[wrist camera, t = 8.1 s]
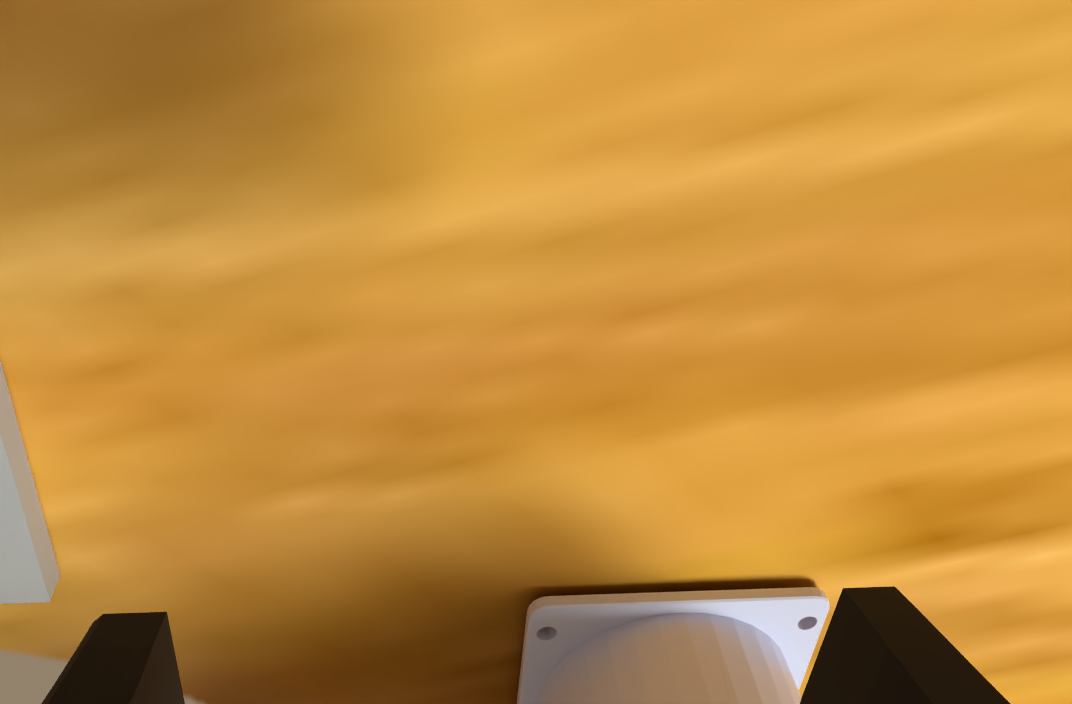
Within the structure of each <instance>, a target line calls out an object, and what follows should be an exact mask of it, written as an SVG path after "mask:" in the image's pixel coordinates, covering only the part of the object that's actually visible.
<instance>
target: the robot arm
mask: <svg viewBox="0 0 1072 704" xmlns="http://www.w3.org/2000/svg"><path fill="white" fill-rule="evenodd" d="M829 607H830V603H829V601H828V599H827V596H826V594H825V593H824V591H823V590H821V589H820V588H815V587H797V588H768V589H739V590H710V591H681V592H652V593H623V594H594V595H565V596H546V597H541V598H538V599H536V600H534V601H533V602H532V603H531V604H530V605H529V607H528V610H527V617H526V626H525V635H524V643H523V652H522V661H521V670H520V679H519V687H518V696H517V704H1010V703H1009V702H1008V701H1007V700H1006V699H1005V698H1004V697H1003V696H1002V695H1001V694H1000V693H999V692H998V691H997V690H996V689H995V688H994V687H993V686H992V685H991V684H990V683H989V682H988V681H987V680H986V679H985V678H984V677H983V676H982V675H981V674H980V673H979V672H978V671H977V670H976V669H975V668H974V667H973V666H972V665H971V664H970V663H969V662H968V660H967V659H966V658H965V657H964V656H963V655H962V654H961V653H960V652H959V651H958V650H957V649H956V648H955V647H954V646H953V645H952V644H951V643H950V642H949V641H948V640H947V639H946V638H945V637H944V636H943V635H942V634H941V633H940V632H939V631H938V630H937V629H936V628H935V627H934V626H933V625H932V624H931V623H930V622H929V621H928V620H927V618H926V617H925V616H924V615H923V614H922V613H921V612H920V611H919V610H918V609H917V608H916V607H915V606H914V605H913V604H912V603H911V602H910V601H909V600H908V599H907V598H906V597H905V596H904V595H903V594H902V593H901V592H900V591H899V590H898V589H897V588H896V587H868V588H843V590H842V593H841V595H840V598H839V600H838V603H837V606H836V608H835V611H834V614H833V616H832V619H831V622H830V624H829V627H828V630H827V632H826V635H825V638H824V640H823V643H822V645H821V648H820V651H819V653H818V656H817V659H816V661H815V664H814V667H813V669H812V672H811V675H810V677H809V680H808V683H807V685H806V688H805V691H804V693H803V696H802V698H801V696H800V693H799V688H800V686H801V683H802V680H803V678H804V675H805V672H806V670H807V667H808V664H809V662H810V659H811V656H812V654H813V651H814V648H815V645H816V643H817V640H818V637H819V635H820V632H821V629H822V627H823V624H824V621H825V619H826V616H827V613H828V611H829ZM543 627H547V628H543ZM42 704H185V703H184V697H183V692H182V687H181V682H180V677H179V672H178V667H177V662H176V657H175V652H174V646H173V641H172V636H171V631H170V626H169V621H168V616H167V612H150V613H121V614H103V615H102V616H100V617H99V618H98V619H97V620H95V621H94V622H93V623H92V625H91V627H90V628H89V630H88V632H87V633H86V635H85V637H84V638H83V640H82V641H81V643H80V645H79V646H78V648H77V650H76V651H75V653H74V654H73V656H72V657H71V659H70V661H69V662H68V664H67V665H66V667H65V669H64V670H63V672H62V673H61V675H60V676H59V678H58V679H57V681H56V683H55V684H54V686H53V687H52V689H51V690H50V692H49V693H48V695H47V696H46V698H45V699H44V701H43V702H42Z"/></svg>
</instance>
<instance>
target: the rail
mask: <svg viewBox="0 0 1072 704" xmlns="http://www.w3.org/2000/svg"><path fill="white" fill-rule="evenodd" d="M59 577H60V573H59V569H58V566H57V562H56V558H55V555H54V551H53V548H52V544H51V540H50V537H49V533H48V530H47V526H46V523H45V519H44V515H43V512H42V508H41V505H40V501H39V497H38V494H37V490H36V487H35V483H34V479H33V476H32V472H31V469H30V465H29V462H28V458H27V454H26V451H25V447H24V444H23V440H22V436H21V433H20V429H19V426H18V422H17V419H16V415H15V411H14V408H13V404H12V401H11V397H10V393H9V390H8V386H7V383H6V379H5V376H4V372H3V368H2V365H1V361H0V604H10V603H41V602H50V601H51V598H52V596H53V593H54V590H55V588H56V585H57V583H58V580H59Z"/></svg>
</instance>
